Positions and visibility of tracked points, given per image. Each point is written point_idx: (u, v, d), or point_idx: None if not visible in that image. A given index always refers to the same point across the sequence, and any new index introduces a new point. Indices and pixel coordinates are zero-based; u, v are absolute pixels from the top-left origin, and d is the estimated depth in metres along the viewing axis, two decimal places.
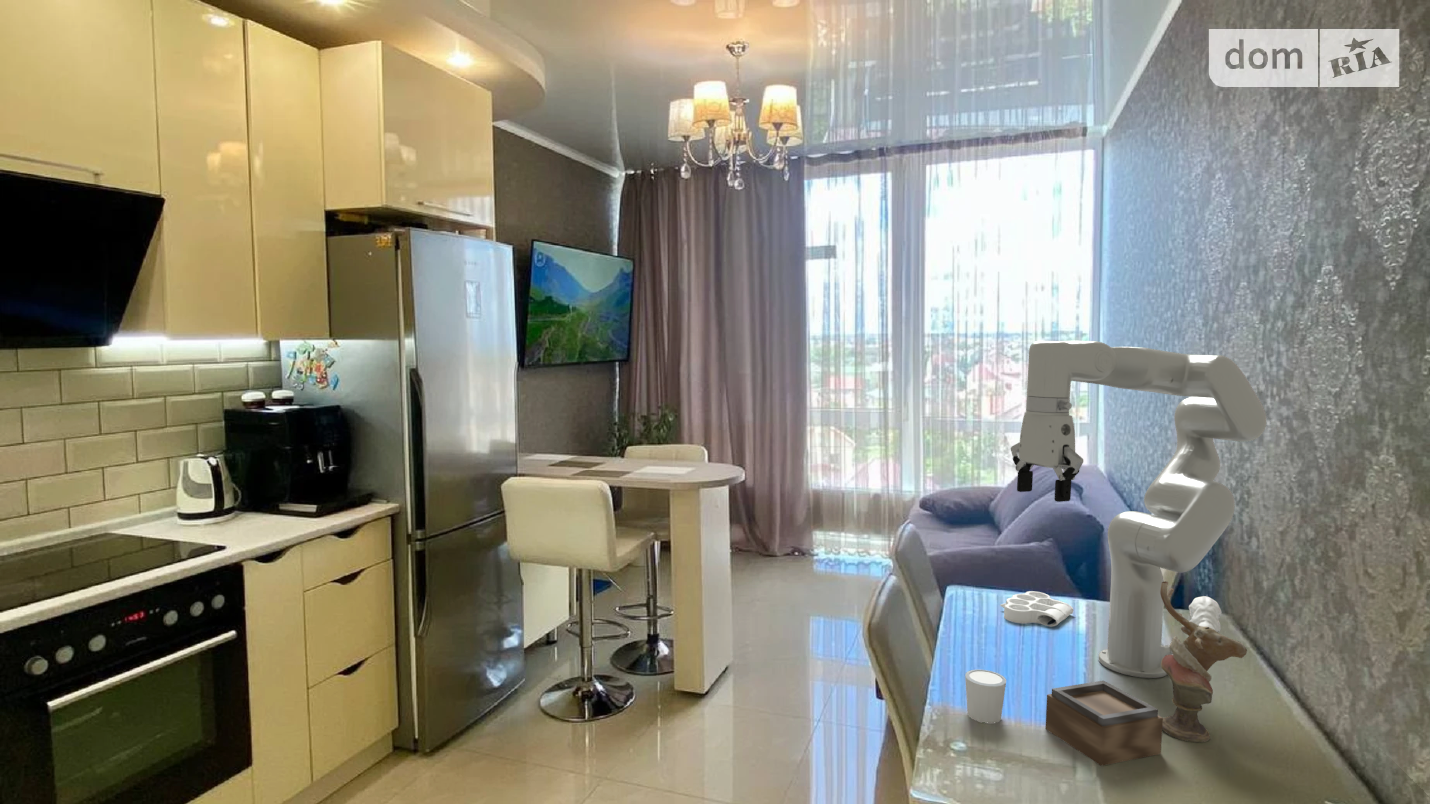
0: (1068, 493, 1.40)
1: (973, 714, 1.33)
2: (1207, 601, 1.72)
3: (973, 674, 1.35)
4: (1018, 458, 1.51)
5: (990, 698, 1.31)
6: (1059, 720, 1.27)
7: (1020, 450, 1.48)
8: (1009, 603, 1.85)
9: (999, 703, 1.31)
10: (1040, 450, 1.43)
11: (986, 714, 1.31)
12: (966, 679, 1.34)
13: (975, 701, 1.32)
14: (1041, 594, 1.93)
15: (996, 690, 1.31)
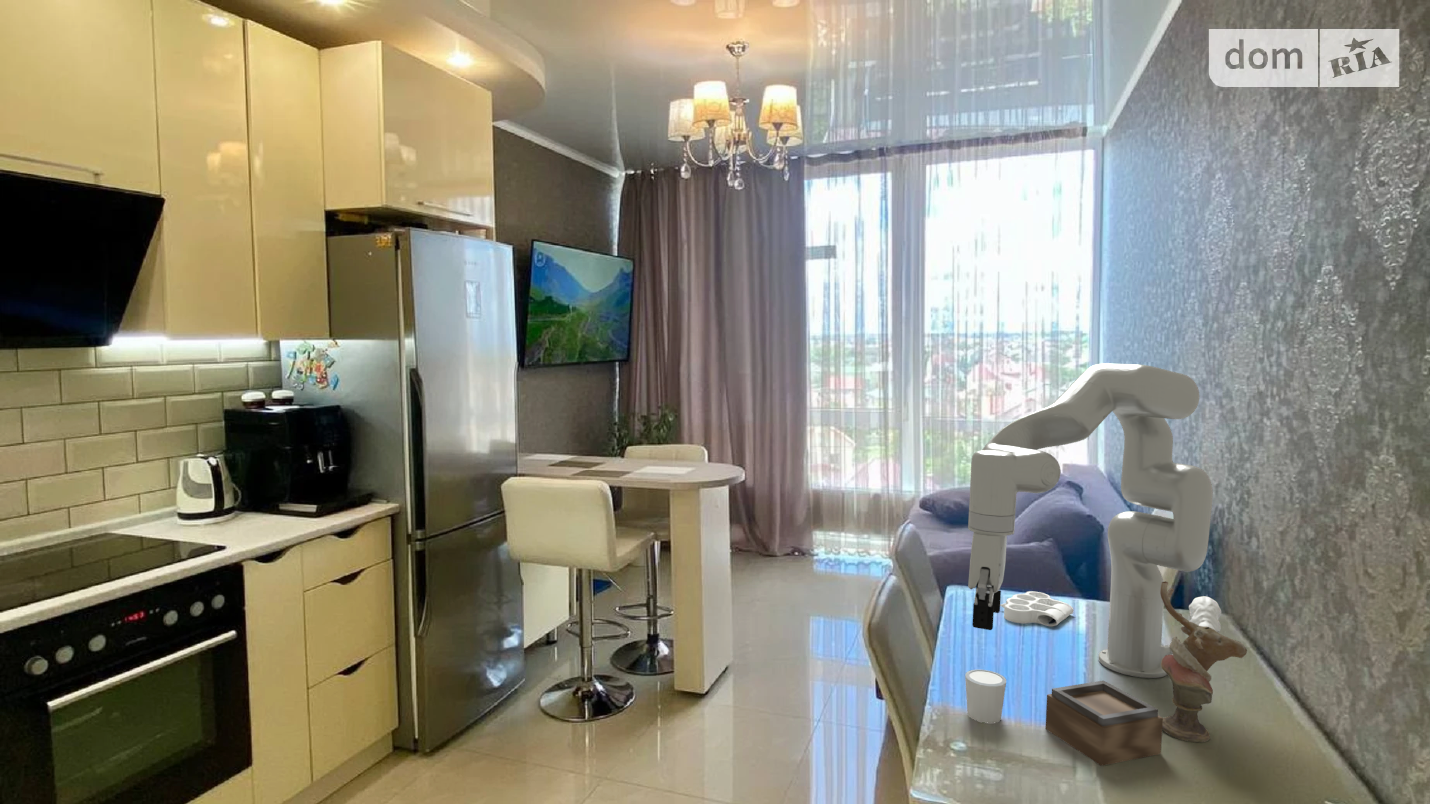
0: None
1: (973, 714, 1.33)
2: (1207, 601, 1.72)
3: (973, 674, 1.35)
4: None
5: (990, 698, 1.31)
6: (1059, 720, 1.27)
7: (998, 581, 1.28)
8: (1009, 603, 1.85)
9: (999, 703, 1.31)
10: (1004, 569, 1.32)
11: (986, 714, 1.31)
12: (966, 679, 1.34)
13: (975, 701, 1.32)
14: (1041, 594, 1.93)
15: (996, 690, 1.31)
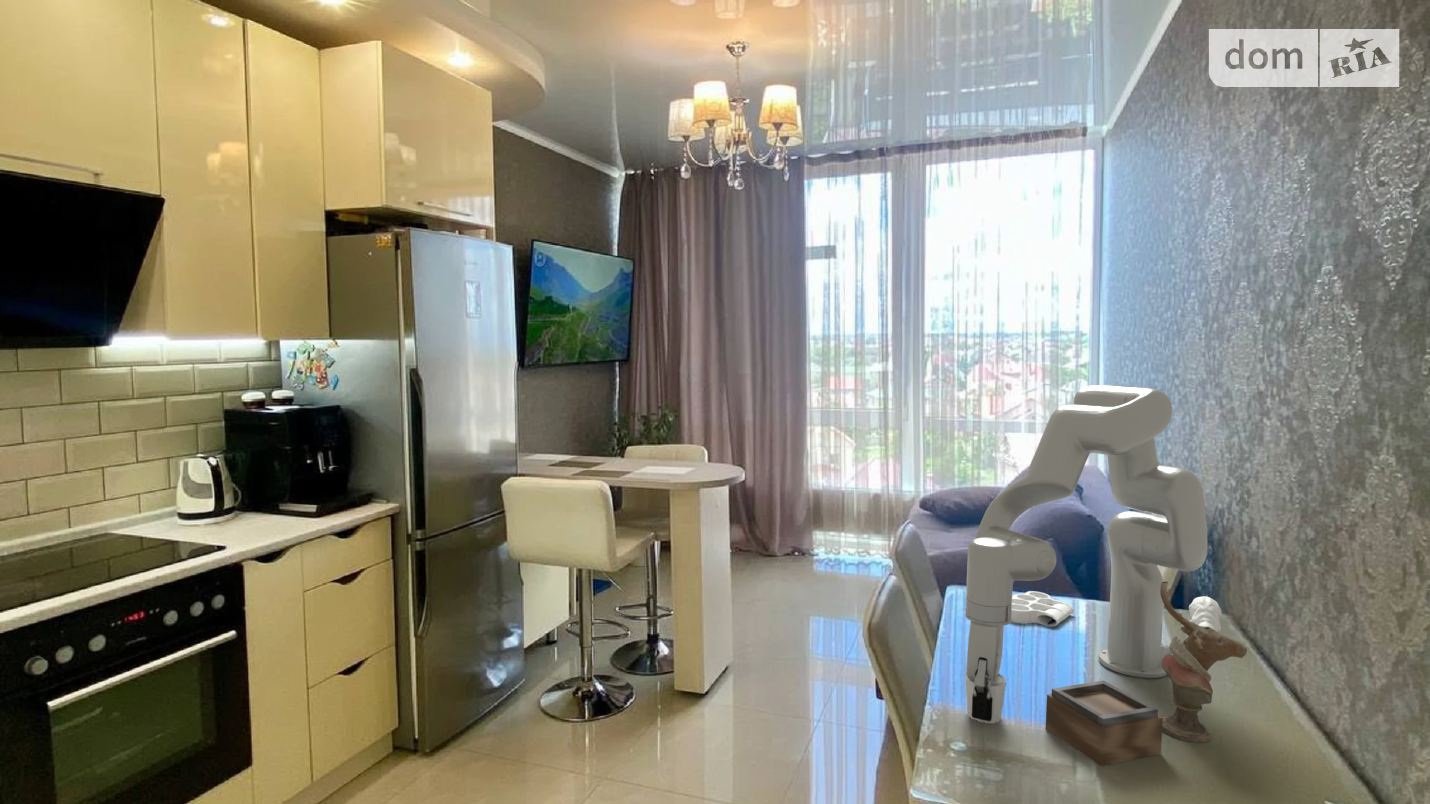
0: None
1: None
2: (1207, 601, 1.72)
3: None
4: None
5: None
6: (1059, 720, 1.27)
7: (996, 671, 1.29)
8: None
9: (999, 703, 1.31)
10: (1001, 655, 1.34)
11: None
12: (966, 679, 1.34)
13: None
14: (1041, 594, 1.93)
15: (996, 690, 1.31)
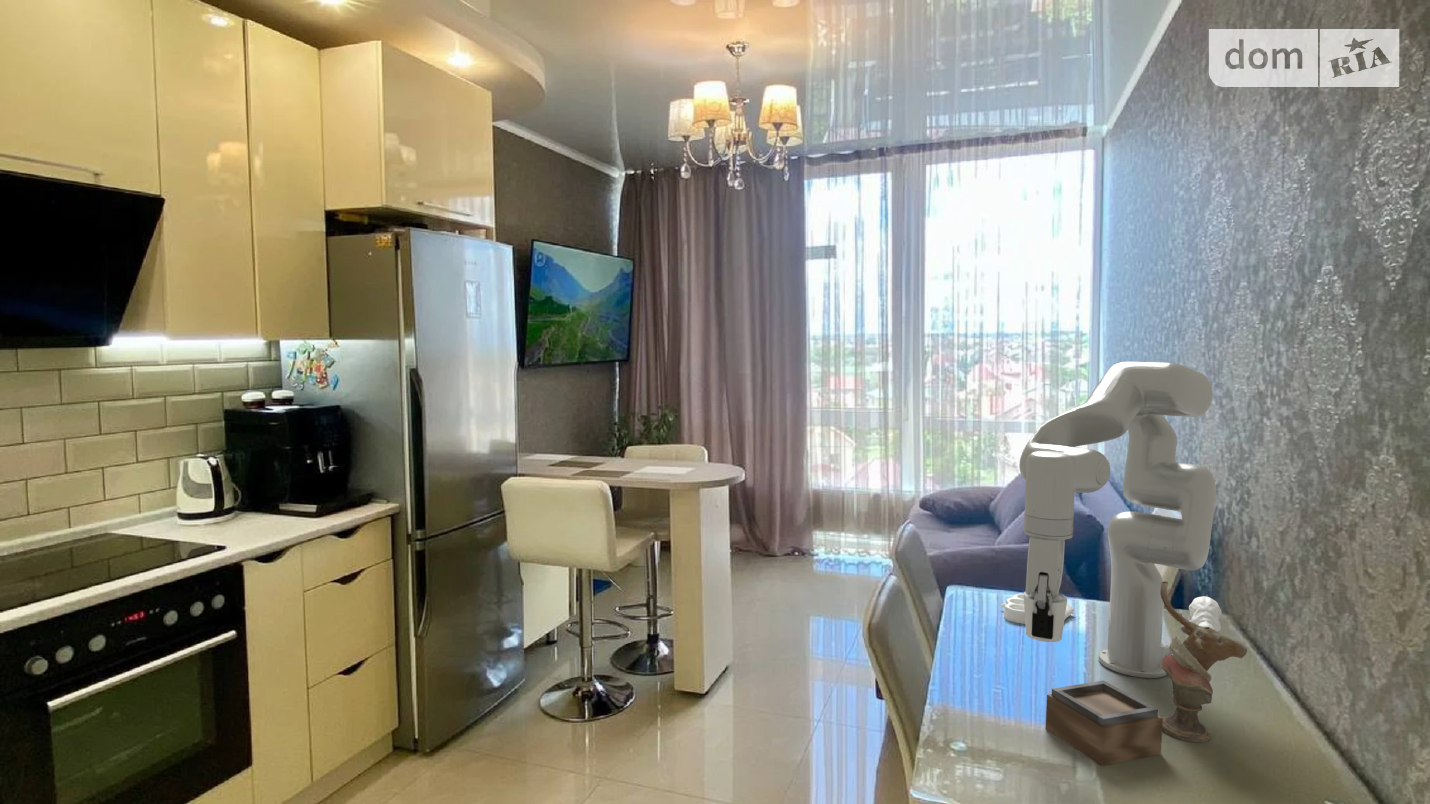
0: None
1: None
2: (1207, 601, 1.72)
3: None
4: None
5: None
6: (1059, 720, 1.27)
7: (1057, 586, 1.24)
8: (1009, 603, 1.85)
9: (1060, 621, 1.26)
10: None
11: None
12: (1025, 597, 1.29)
13: None
14: None
15: (1057, 607, 1.26)
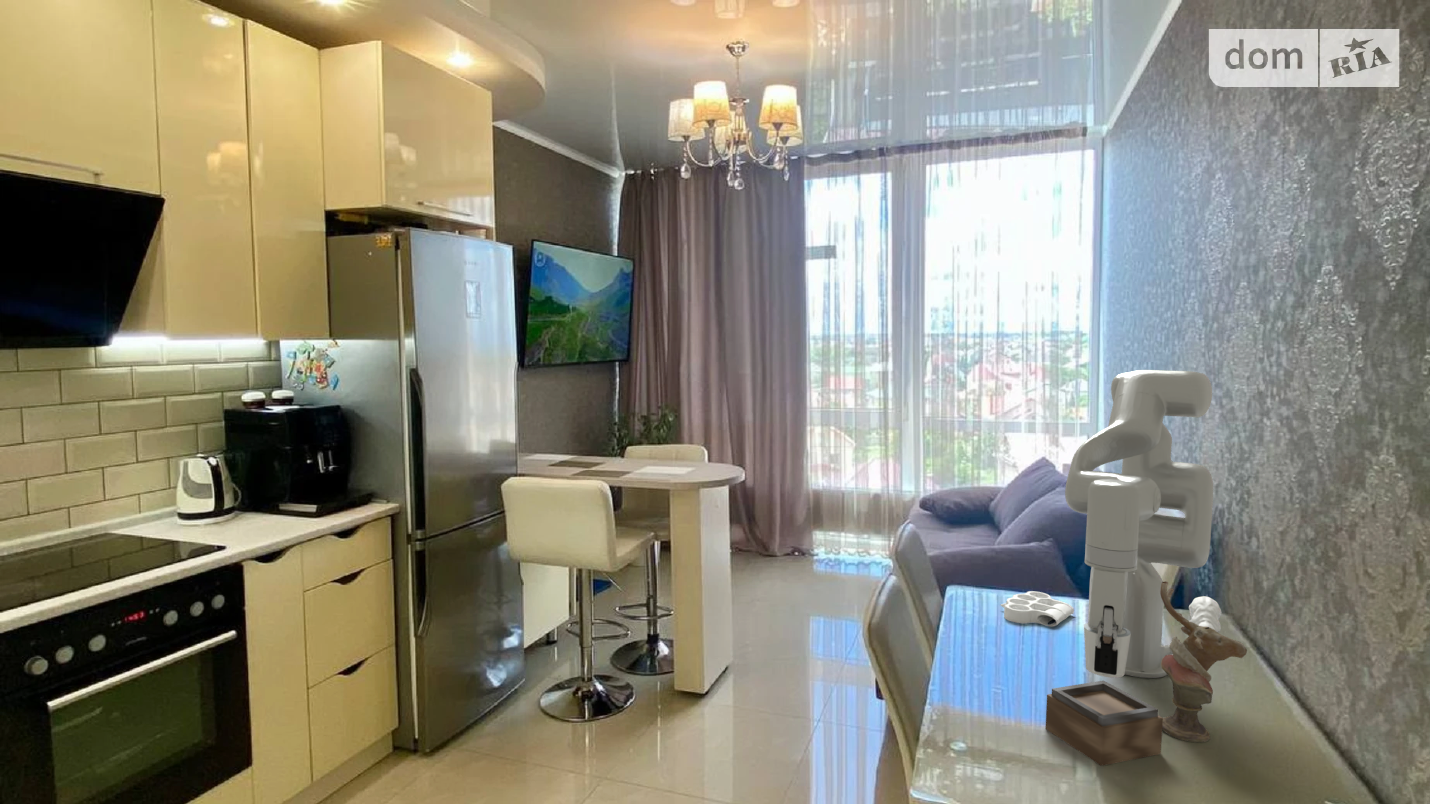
0: None
1: None
2: (1207, 601, 1.72)
3: None
4: None
5: None
6: (1059, 720, 1.27)
7: (1123, 620, 1.20)
8: (1009, 603, 1.85)
9: (1124, 656, 1.22)
10: None
11: None
12: (1086, 631, 1.25)
13: None
14: (1042, 594, 1.93)
15: (1121, 641, 1.21)
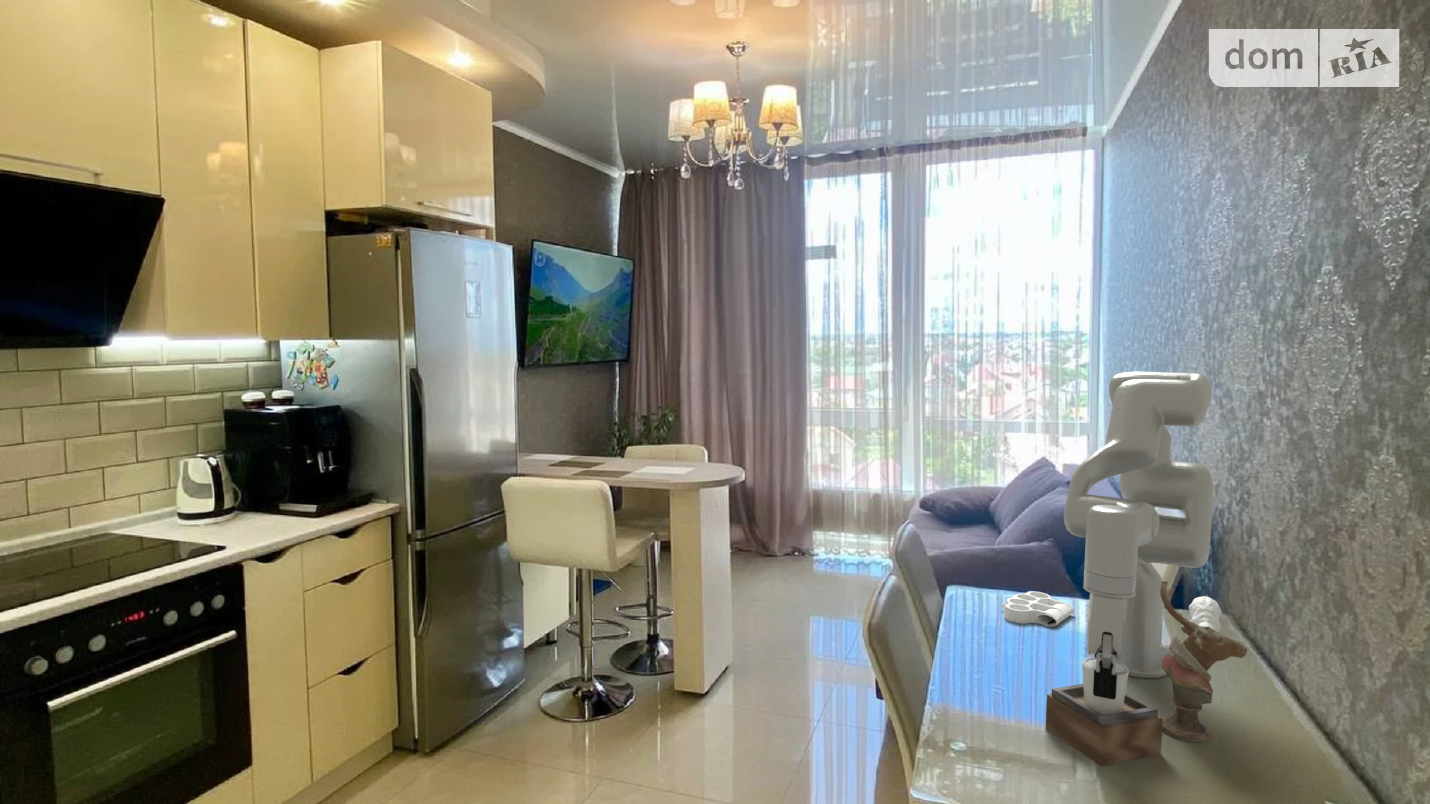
0: None
1: (1092, 705, 1.24)
2: (1207, 601, 1.72)
3: (1090, 662, 1.26)
4: None
5: None
6: (1059, 720, 1.27)
7: (1121, 646, 1.20)
8: (1009, 603, 1.85)
9: (1121, 693, 1.22)
10: None
11: (1107, 705, 1.22)
12: (1084, 667, 1.25)
13: None
14: (1042, 594, 1.93)
15: (1119, 679, 1.22)
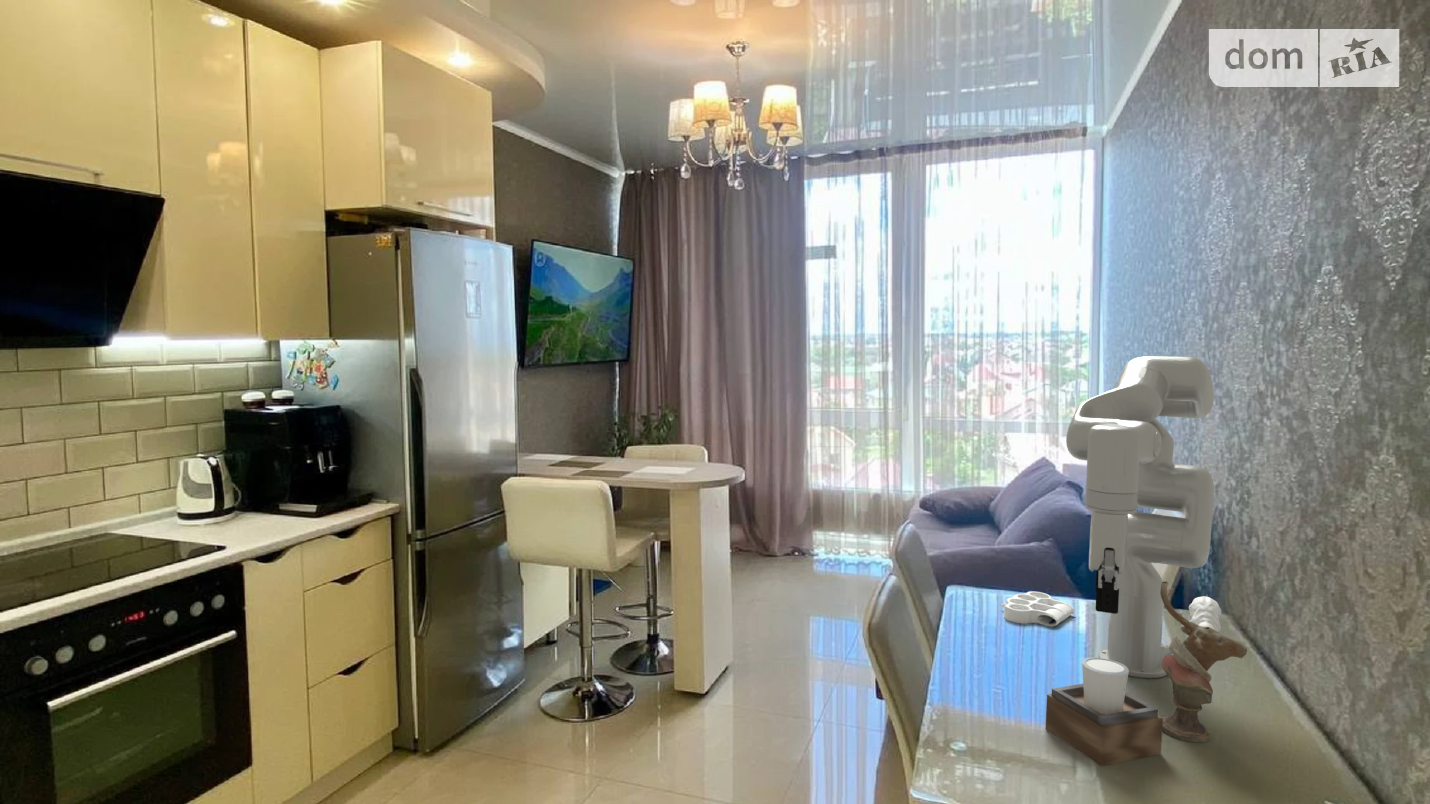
0: None
1: (1092, 705, 1.24)
2: (1207, 601, 1.72)
3: (1090, 662, 1.26)
4: None
5: (1112, 687, 1.22)
6: (1059, 720, 1.27)
7: (1123, 562, 1.21)
8: (1009, 603, 1.85)
9: (1121, 693, 1.22)
10: None
11: (1107, 705, 1.22)
12: (1084, 667, 1.25)
13: (1095, 691, 1.23)
14: (1042, 594, 1.93)
15: (1119, 679, 1.22)
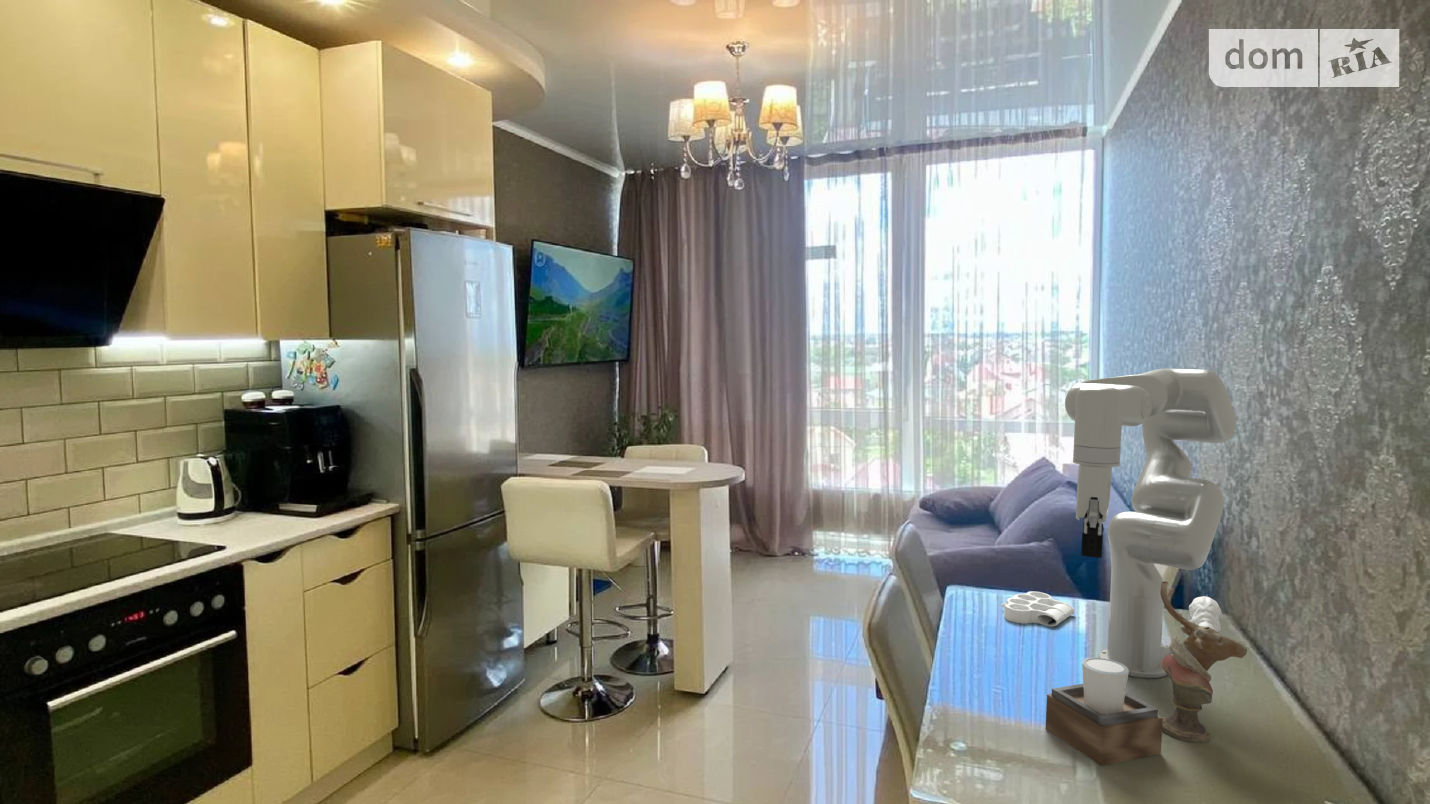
0: None
1: (1092, 705, 1.24)
2: (1207, 601, 1.72)
3: (1090, 662, 1.26)
4: None
5: (1112, 687, 1.22)
6: (1059, 720, 1.27)
7: (1107, 510, 1.33)
8: (1009, 603, 1.85)
9: (1121, 693, 1.22)
10: None
11: (1107, 705, 1.22)
12: (1084, 667, 1.25)
13: (1095, 691, 1.23)
14: (1042, 594, 1.93)
15: (1119, 679, 1.22)
